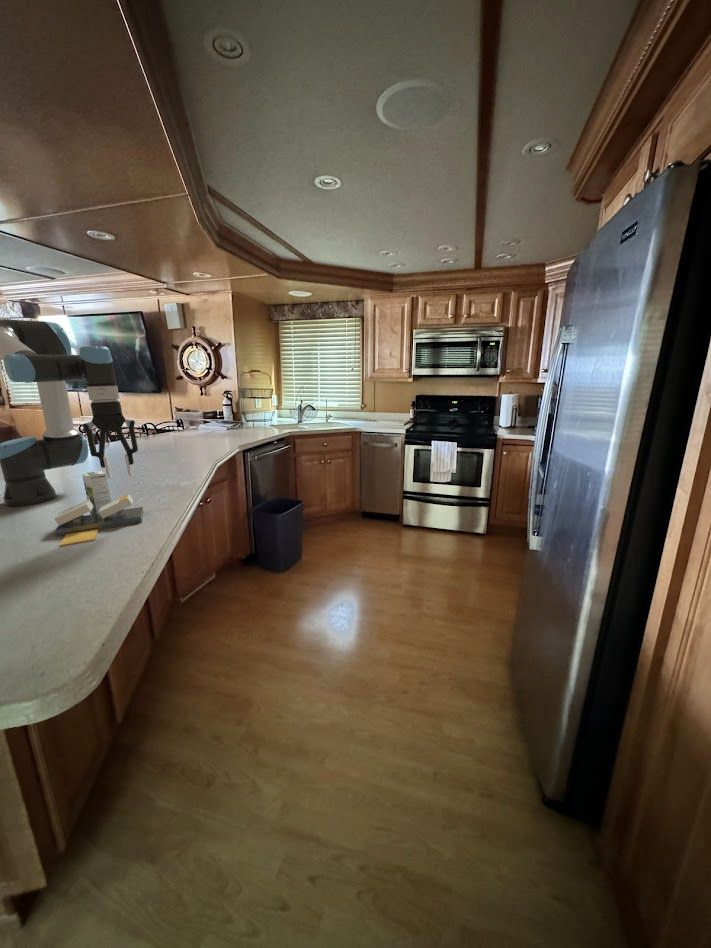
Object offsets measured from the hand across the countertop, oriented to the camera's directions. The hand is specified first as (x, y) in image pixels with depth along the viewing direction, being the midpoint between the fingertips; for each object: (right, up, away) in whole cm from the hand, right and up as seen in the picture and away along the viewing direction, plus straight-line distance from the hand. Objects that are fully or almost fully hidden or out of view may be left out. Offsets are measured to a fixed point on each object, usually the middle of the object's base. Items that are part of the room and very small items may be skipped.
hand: (119, 475), depth 118 cm
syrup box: (-12, -13, +9) cm, 20 cm away
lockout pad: (-6, -18, -9) cm, 21 cm away
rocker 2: (-2, -11, +2) cm, 11 cm away
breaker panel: (-6, -15, +1) cm, 16 cm away
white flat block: (-11, -13, -2) cm, 17 cm away
